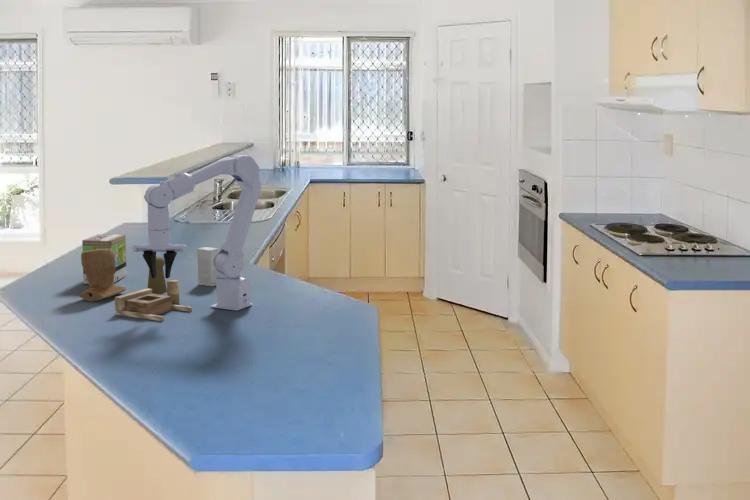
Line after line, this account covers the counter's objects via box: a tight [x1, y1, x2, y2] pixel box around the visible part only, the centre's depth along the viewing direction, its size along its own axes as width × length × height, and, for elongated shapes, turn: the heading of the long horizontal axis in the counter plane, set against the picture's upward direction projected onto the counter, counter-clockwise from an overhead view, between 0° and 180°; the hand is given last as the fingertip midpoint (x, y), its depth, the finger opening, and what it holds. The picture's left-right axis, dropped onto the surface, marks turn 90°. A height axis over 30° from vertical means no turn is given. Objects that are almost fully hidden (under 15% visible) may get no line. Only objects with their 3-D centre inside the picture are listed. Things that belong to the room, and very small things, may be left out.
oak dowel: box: [166, 279, 180, 305], centre depth 243 cm, size 3×3×7 cm
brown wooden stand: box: [78, 248, 127, 303], centre depth 251 cm, size 15×12×15 cm
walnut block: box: [125, 293, 173, 316], centre depth 234 cm, size 8×10×4 cm
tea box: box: [81, 233, 128, 285], centre depth 277 cm, size 15×10×15 cm, turn 179°
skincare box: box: [196, 246, 220, 287], centre depth 270 cm, size 6×4×12 cm
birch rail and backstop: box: [114, 287, 193, 322], centre depth 233 cm, size 16×13×5 cm
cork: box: [147, 256, 167, 295], centre depth 260 cm, size 6×6×11 cm
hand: (160, 277), depth 231 cm, fingers open, 3 cm apart
